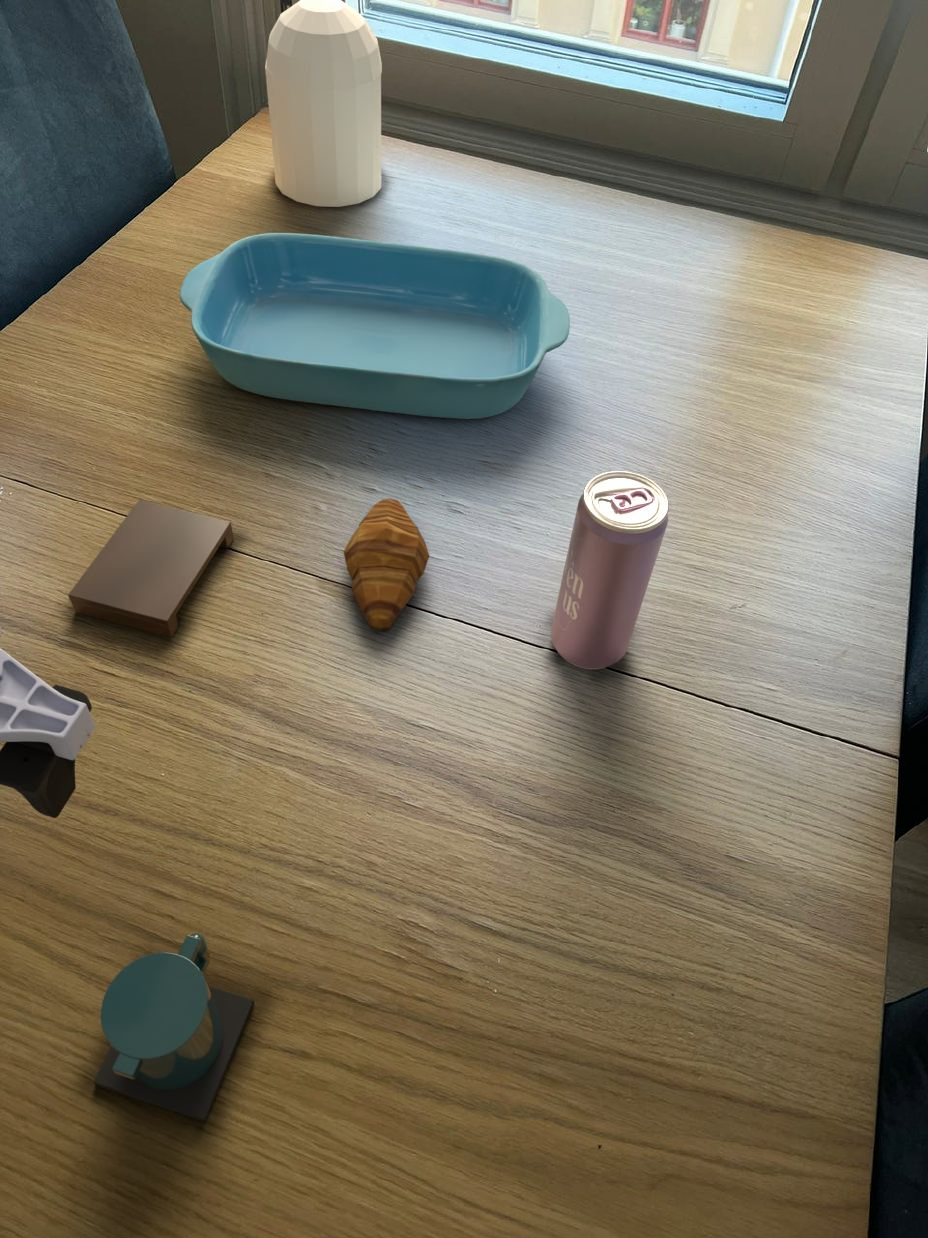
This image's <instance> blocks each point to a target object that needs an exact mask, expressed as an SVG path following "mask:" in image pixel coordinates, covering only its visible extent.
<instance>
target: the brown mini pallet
mask: <svg viewBox="0 0 928 1238" xmlns="http://www.w3.org/2000/svg"><path fill="white" fill-rule="evenodd" d="M232 527H233V525H232V522H231V521H230V520H226V519H222V518H218V517H214V516H209V515H206V514H202V513H197V512H193V511H189V510H186V509H181V508H177V507H174V506H169V505H165V504H161V503H157V502H153V501H149V500H145V499H141V498H140V499H138V501H137V503H136V504H135V505H134V506H133V508H132V509H131V510H130V512H129V513H128V514H127V516H126V517H125V518H124V520H123V521H122V523H120V525H119V526H118V528H117V529H116V530H115V532H113V534H112V535H111V537H110V538H109V540H108V541H107V542H106V543H105V545H104V546H103V548H102V549H101V550H100V551H99V553H98V554H97V556H96V557H95V558H94V560H93V561H92V562H91V564H89V566H88V567H87V569H86V570H85V571H84V573H83V574H82V575H81V577H80V578H79V579H78V581H77V582H76V583H75V585H74V586H73V587H72V589H71V590H70V591H69V593H68V594H67V596H68V598H69V601H70V603H71V606H72V608H73V610H74V611H73V612H75V613H76V614H77V613H78V614H82V615H85V616H88V617H93V618H96V619H99V620H104V621H107V622H108V621H109V622H112V623H115V624H120V625H123V626H126V627H130V628H134V629H138V630H141V631H145V632H150V633H152V634H156V635H160V636H164V637H168V638H173V637H174V635H175V634H176V632H177V630H178V629H179V623H178V618H177V614H178V612H179V610H180V609H181V607H182V606H183V604H184V602H185V601H186V600H187V598H188V596H189V595H190V593H191V592H192V590H193V588H194V587H195V586H196V584H197V582H198V581H199V579H200V577H201V576H202V574H203V572H204V571H205V570H206V568H207V567H208V565H209V563H210V562H211V560H212V558H213V557H214V556H215V554H216V552H217V551H218V549H219V547H220V548H224V549H229V547H230V546H231V544H232V543H233V541H234V533H233V528H232Z"/></svg>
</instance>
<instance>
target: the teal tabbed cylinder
mask: <svg viewBox="0 0 928 1238" xmlns="http://www.w3.org/2000/svg"><path fill="white" fill-rule="evenodd" d="M210 956H211V952H210V949H209V947H208V944H207V941H206V939H205V937H204V935H203V934H202V933H200V932H194V933H192V934H187V935H185V938H184V940H183V943H182V944H181V946H180V948H179V950H178V953H175V952H164V951H163V952H154V953H150V954H146V955H144V956H141V957H139V958H137V959H135V960H133V961H131V962H130V963H129V964H127V965H126V966H124V967H123V968H122V969H121V970H120V971H119V972H118V974H116V975H115V977H114V978H113V980H112V981H111V982H110V984H109V985H108V987H107V989H106V991H105V994H104V995H103V1000H102V1003H101V1008H100V1024H101V1028H102V1032H103V1035H104V1038H106V1040H107V1042H108V1043H109V1044H110V1047H111V1046H112V1047H113V1048H114V1050H115V1051H116V1052H117V1053H118V1055H119V1056H118V1058H117V1060H116V1062H115V1064H114V1066H113V1068H112V1070H113V1071H114V1072H115V1074H118V1075H121V1076H124V1077H127V1078H130V1079H135V1078H136V1077H137V1079H139V1080H140V1081H141V1082H142V1083H144V1084H145V1085H147V1086H149V1087H151V1088H155V1089H159V1090H174V1089H179V1088H182V1087H185V1086H187V1085H189V1084H191V1083H193V1082H195V1081H196V1080H198V1079H199V1078H200V1077H202V1076H203V1075H204V1074H205V1073H206V1072H207V1071H208V1070H209V1068H210V1067H211V1066H212V1065H213V1063H214V1062H215V1060H216V1058H217V1056H218V1054H219V1052H220V1049H221V1046H222V1042H223V1035H224V1029H223V1021H222V1018H221V1015H220V1012H219V1010H218V1008H217V1005H216V1003H215V1001H214V999H213V996H212V994H211V992H210V989H209V987H208V986H209V985H208V982H207V980H206V978H205V973H206V972H207V969H208V967H209V965H210V962H211V961H210Z"/></svg>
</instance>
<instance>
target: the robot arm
mask: <svg viewBox="0 0 928 1238" xmlns="http://www.w3.org/2000/svg"><path fill="white" fill-rule="evenodd" d="M2 635H3V630H2V627H0V638H1V637H2ZM92 709H93V706H92V703H91V701H90V699H89V697H88V695H87V694H85V692H82V691H80V690H77V689H73V688H70V687H66V686H62V685H59V684H54V685H53V686H51V685H49V684H48V683H47V682H45V681H44V680H43V679H41V678H40V677H39V676H38V675H36V674H35V673H33V671H31V670H30V669H29V668H27V667H26V666H24V665H23V664H22V663H21V662H19V661H18V660H17V659H16V658H14V657H13V656H11V655H10V654H8V652H6V651H5V650H3V649H2V648H1V647H0V743H4V744H3V746H2V747H1V748H0V785H1V786H4V787H8V788H11V789H13V790H15V791H16V792H18V793H19V794H20V795H21V796H22V797H23V798H24V799H25V800H26V802H28V804H29V805H30V806H31V807H32V808H33V810H35V811H36V812H38V813H39V814H41V815H43V816H45V817H49V818H53V819H57V818H58V817H59V816H60V815H61V813H62V811H63V809H64V808H65V807H66V805H67V803H68V801H69V800H70V798H71V796H72V795H73V794H74V792H75V790H76V788H77V787H76V758H77V757H78V755H79V753H81V751H82V749H83V748H84V746H85V745H86V743H87V742H88V740H89V739H90V736H91V735H92V733H93V732H94V730H95V729H96V727H97V726H96V724H95V721H94V719H93V716H92V714H91V711H92Z"/></svg>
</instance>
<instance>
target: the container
mask: <svg viewBox="0 0 928 1238" xmlns="http://www.w3.org/2000/svg"><path fill="white" fill-rule="evenodd" d="M264 71H265V81H266V93H267V104H268V114H269V127H270V136H271V147H272V148H271V149H272V158H273V159H272V160H273V170H274V180H275V181H274V182H275V186H276V187H277V189H278V190H279V191H280V193H281V194H282V195H284V196H286V197H288V198H289V199H291V200H293V201H295V202H297V203H301V204H306V205H309V206H314V207H327V208H328V207H329V208H331V207H332V208H333V207H334V208H341V207H345V206H352V205H359V204H360V203H363V202H365V201H367V200H370V199H372V198H374V197H375V196H376V195H377V194H378V192H380V191H381V189H382V73H383V63H382V58H381V53H380V46H379V41H378V38H377V36H376V35H375V33H374V31H373V30H372V28H371V27H370V25H369V23H368V22H367V20H366V18H365V17H364V16H363V15H362V14H360V13H359V11H357V10H356V9H355V8H353V7H352V6H350V5H349V4H347V3H346V2H344V1H343V0H299V1H297V2H295V3H293V5H291V6H290V7H289V8H287V9H286V10H284V11H283V12H281V13H280V14H279V16H278V18H277V20H276V22H275V23H274V25H273V28H272V29H271V31H270V33H269V37H268V42H267V52H266V59H265V66H264Z"/></svg>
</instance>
